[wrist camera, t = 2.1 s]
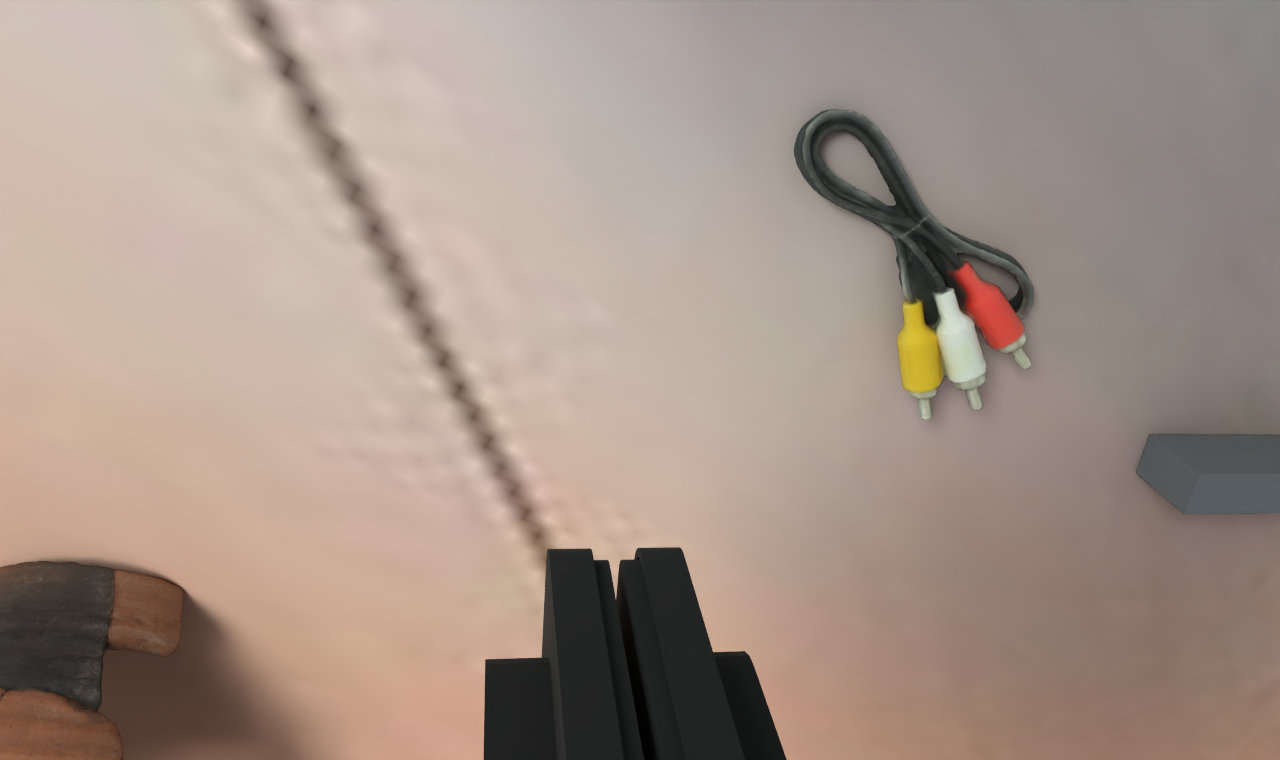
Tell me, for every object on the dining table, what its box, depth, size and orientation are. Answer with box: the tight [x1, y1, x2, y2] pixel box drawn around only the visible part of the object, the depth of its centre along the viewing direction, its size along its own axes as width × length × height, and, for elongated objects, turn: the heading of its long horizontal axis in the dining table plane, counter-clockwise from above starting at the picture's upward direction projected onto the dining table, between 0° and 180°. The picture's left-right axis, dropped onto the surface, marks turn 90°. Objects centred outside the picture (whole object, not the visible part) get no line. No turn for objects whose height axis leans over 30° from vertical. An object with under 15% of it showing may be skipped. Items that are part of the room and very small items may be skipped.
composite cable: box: [794, 110, 1034, 420], centre depth 26 cm, size 10×5×2 cm, turn 30°
